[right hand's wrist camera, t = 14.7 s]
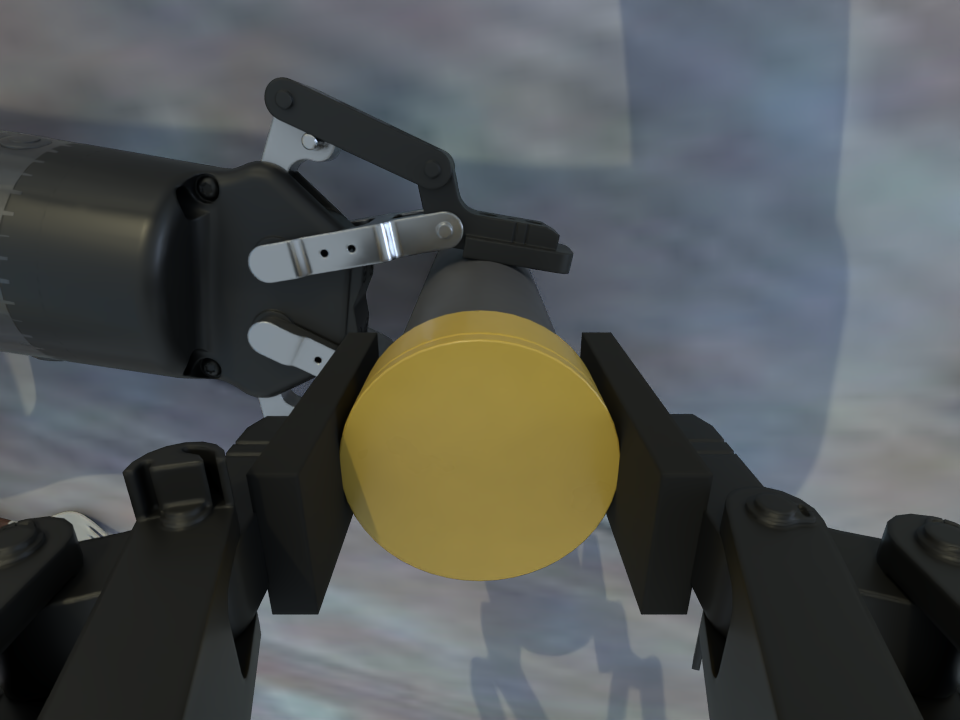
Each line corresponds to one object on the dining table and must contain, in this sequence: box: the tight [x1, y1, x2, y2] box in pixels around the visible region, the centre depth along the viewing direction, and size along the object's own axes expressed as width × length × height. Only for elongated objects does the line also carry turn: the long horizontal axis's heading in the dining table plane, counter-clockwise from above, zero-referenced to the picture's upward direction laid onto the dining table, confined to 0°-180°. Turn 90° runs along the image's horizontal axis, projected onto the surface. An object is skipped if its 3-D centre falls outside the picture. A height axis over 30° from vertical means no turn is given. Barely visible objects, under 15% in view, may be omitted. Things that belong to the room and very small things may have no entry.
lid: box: [339, 310, 620, 581], centre depth 11 cm, size 5×5×2 cm
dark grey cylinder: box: [403, 248, 556, 335], centre depth 18 cm, size 5×5×16 cm
